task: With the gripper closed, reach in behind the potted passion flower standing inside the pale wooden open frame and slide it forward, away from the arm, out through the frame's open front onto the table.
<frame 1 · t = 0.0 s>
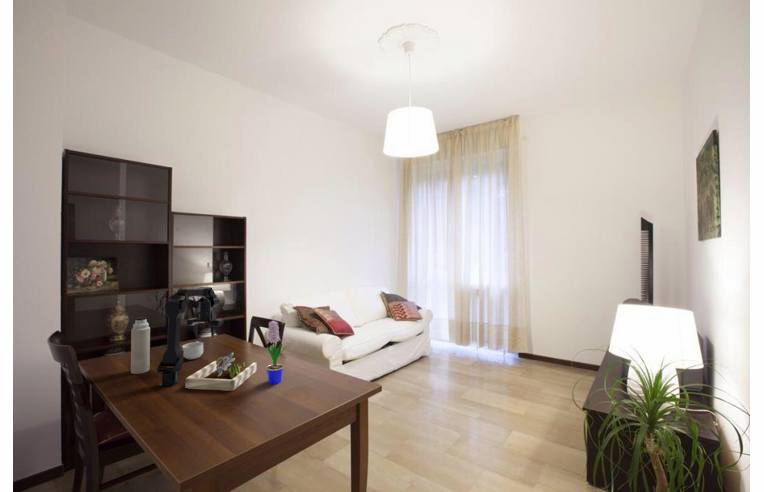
hand: (204, 337, 190), 15 cm above the table, tool pointing down, fingers open, 9 cm apart
hyacinth: (276, 381, 167), on the table
pale wooden open frame: (223, 379, 169), on the table
thermos bottle: (140, 371, 177), on the table
teacup: (194, 357, 201), on the table
passion flower: (229, 375, 174), on the table
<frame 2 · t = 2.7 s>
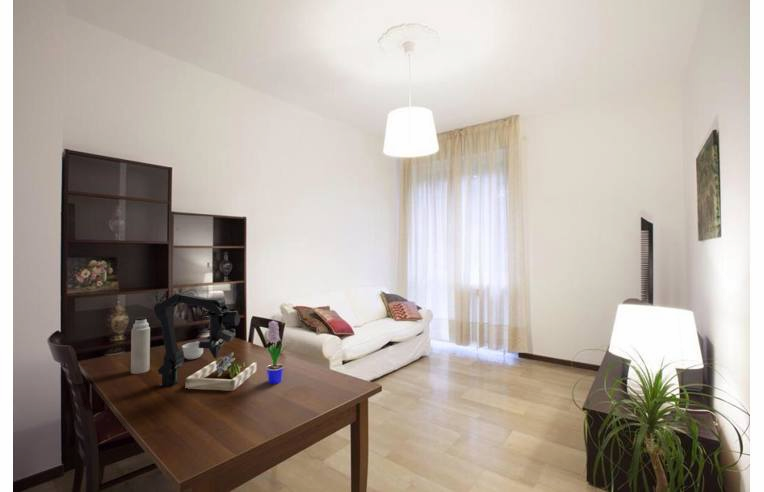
hand: (215, 357, 161), 13 cm above the table, tool pointing down, fingers closed
nothing on the table moved.
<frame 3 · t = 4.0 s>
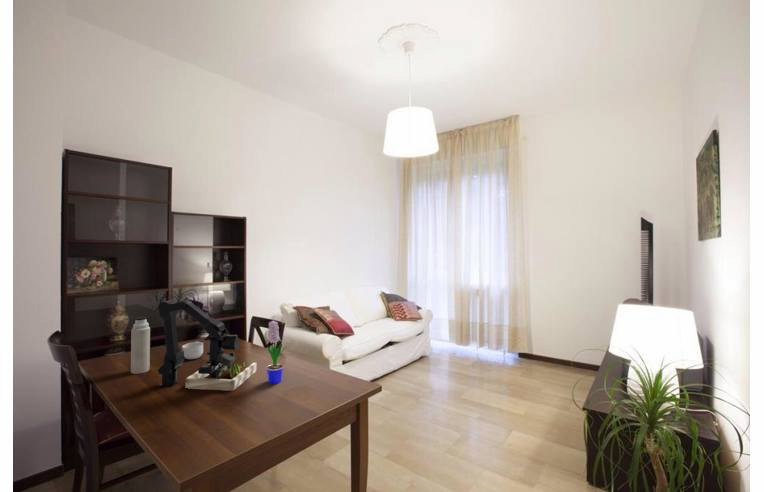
hand: (215, 381, 162), 2 cm above the table, tool pointing down, fingers closed
nothing on the table moved.
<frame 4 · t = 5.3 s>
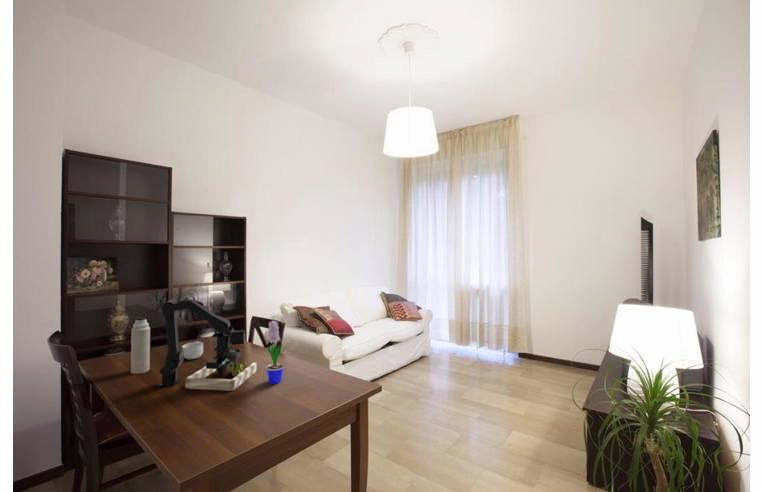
hand: (222, 376, 167), 2 cm above the table, tool pointing down, fingers closed
passion flower: (231, 373, 176), on the table, touching gripper
everything else where it was.
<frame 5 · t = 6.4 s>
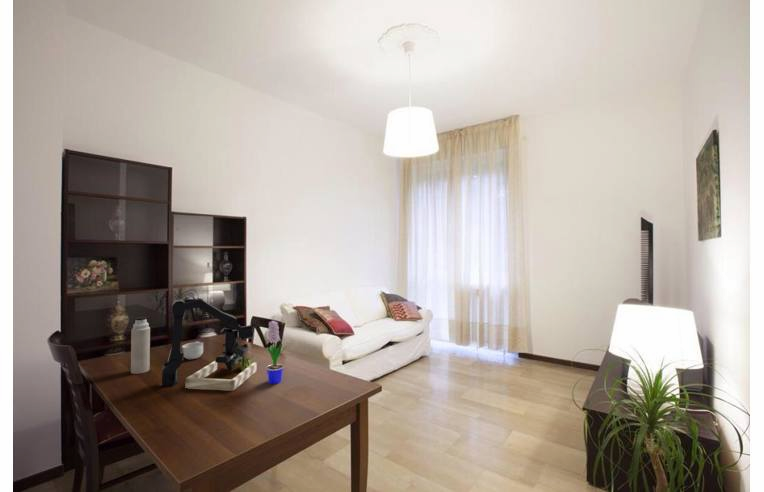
hand: (230, 370, 175), 2 cm above the table, tool pointing down, fingers closed
passion flower: (239, 368, 184), on the table, touching gripper
everything else where it was.
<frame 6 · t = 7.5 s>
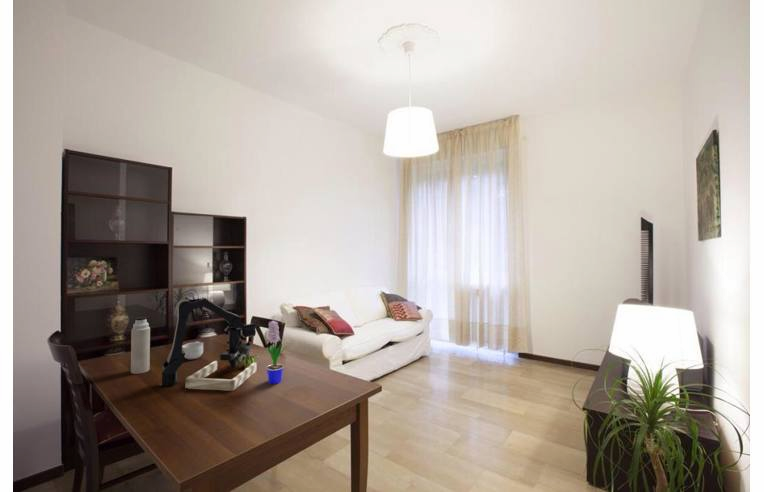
hand: (233, 368, 179), 2 cm above the table, tool pointing down, fingers closed
passion flower: (244, 366, 188), on the table, touching gripper
everything else where it was.
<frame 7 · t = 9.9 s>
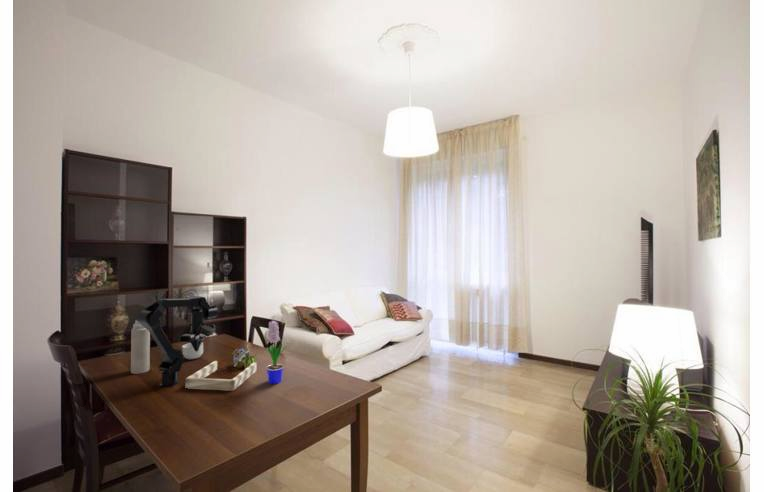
hand: (196, 351, 175), 12 cm above the table, tool pointing down, fingers closed
passion flower: (244, 366, 188), on the table
everything else where it was.
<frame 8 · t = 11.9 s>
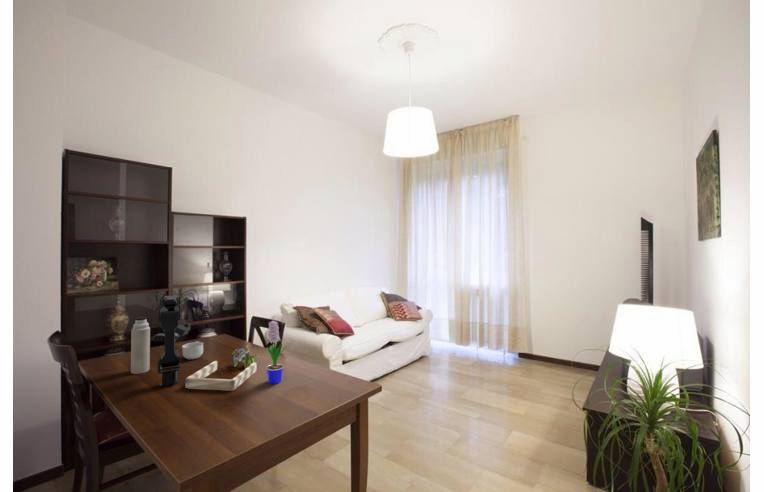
hand: (171, 350, 174), 12 cm above the table, tool pointing down, fingers closed
nothing on the table moved.
at the end: passion flower inside the target area (4.4 cm from its centre), on the table; passion flower tilted 0° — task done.
